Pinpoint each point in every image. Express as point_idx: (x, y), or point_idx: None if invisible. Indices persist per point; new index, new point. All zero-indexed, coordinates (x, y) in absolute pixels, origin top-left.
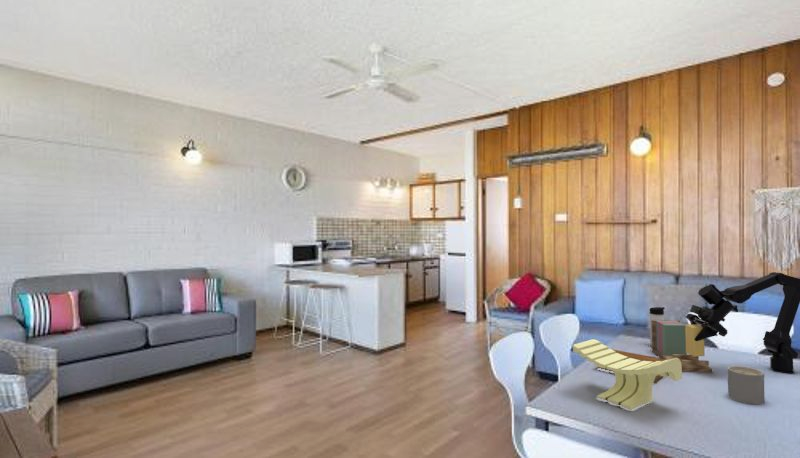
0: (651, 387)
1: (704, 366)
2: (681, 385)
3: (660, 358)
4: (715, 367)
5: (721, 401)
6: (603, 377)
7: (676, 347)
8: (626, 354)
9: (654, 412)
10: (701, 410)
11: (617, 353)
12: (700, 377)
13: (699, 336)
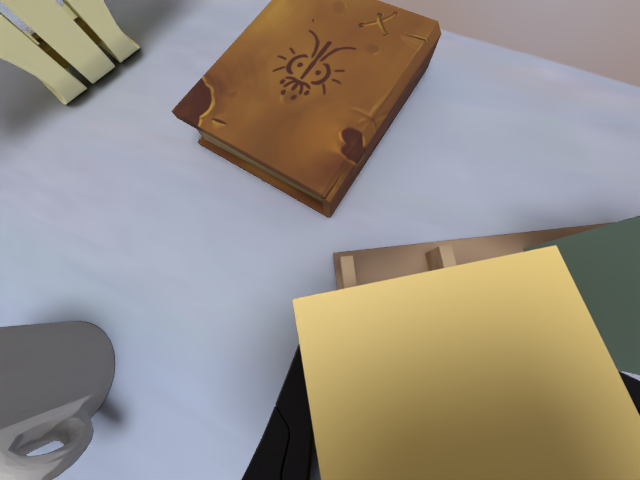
0: (40, 77)
1: None
2: (185, 210)
3: (335, 164)
4: None
5: (51, 278)
6: (239, 33)
7: (587, 300)
8: (369, 57)
9: (12, 98)
10: (4, 199)
11: None
12: (274, 306)
13: (293, 374)
